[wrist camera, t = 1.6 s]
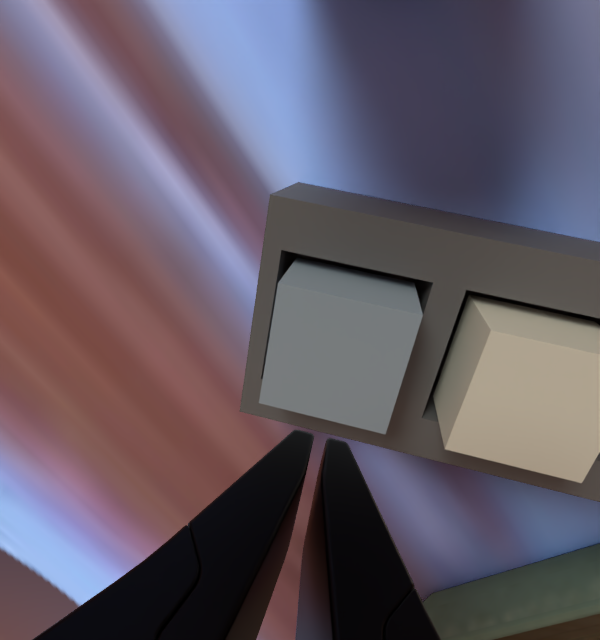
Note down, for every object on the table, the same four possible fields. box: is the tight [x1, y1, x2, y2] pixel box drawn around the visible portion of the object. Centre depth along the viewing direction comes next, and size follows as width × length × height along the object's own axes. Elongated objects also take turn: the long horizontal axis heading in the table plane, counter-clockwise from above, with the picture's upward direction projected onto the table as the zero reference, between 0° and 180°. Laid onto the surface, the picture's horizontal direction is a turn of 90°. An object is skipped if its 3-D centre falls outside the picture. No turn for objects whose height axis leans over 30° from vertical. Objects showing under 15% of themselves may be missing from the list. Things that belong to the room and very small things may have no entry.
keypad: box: [240, 182, 600, 502], centre depth 16 cm, size 18×8×5 cm, turn 80°
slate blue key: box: [259, 257, 423, 434], centre depth 14 cm, size 4×4×3 cm
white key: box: [433, 295, 600, 483], centre depth 13 cm, size 4×4×3 cm
